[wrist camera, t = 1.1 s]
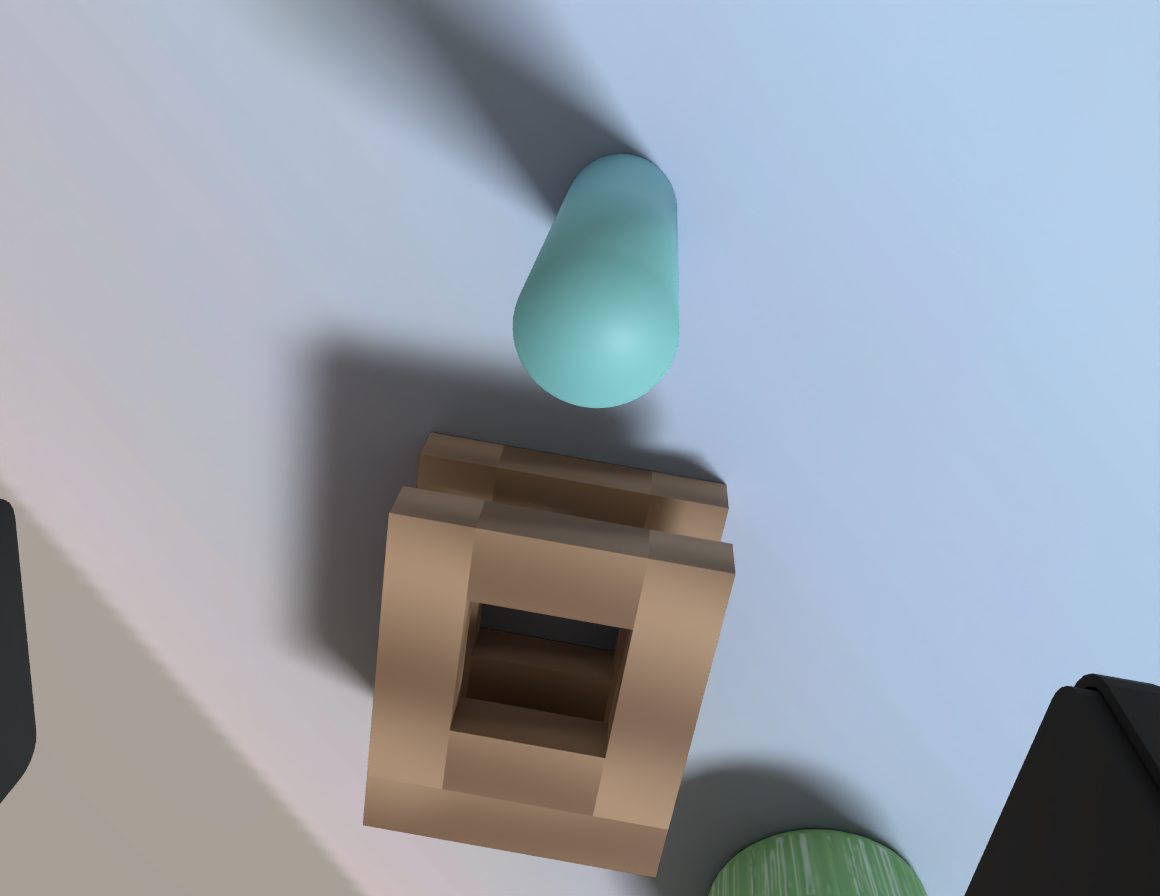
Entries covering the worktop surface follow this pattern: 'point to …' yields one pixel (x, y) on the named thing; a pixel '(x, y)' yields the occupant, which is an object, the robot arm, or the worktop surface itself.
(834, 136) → the worktop surface
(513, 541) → the block
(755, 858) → the ramekin
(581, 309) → the peg
